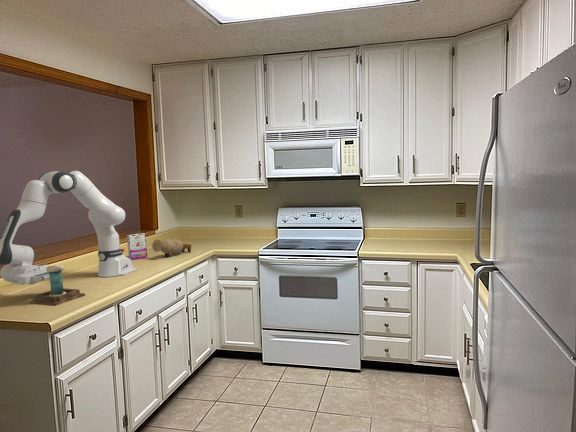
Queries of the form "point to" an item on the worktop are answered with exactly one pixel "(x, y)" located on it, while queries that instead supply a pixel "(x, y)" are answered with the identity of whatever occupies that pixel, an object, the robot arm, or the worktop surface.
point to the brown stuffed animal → (170, 246)
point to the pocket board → (57, 297)
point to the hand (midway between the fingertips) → (51, 276)
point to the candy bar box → (137, 246)
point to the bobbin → (56, 280)
